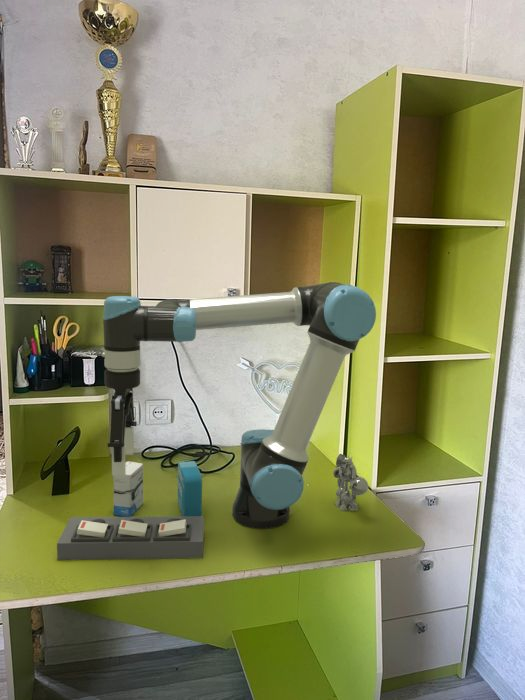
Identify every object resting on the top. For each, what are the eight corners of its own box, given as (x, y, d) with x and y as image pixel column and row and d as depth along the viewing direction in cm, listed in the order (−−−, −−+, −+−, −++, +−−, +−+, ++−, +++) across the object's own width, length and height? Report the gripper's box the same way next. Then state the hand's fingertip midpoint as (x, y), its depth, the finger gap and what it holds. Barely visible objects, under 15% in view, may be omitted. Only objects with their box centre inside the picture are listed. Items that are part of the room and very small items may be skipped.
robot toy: (371, 520, 146) (375, 466, 143) (350, 522, 144) (354, 468, 141) (346, 495, 159) (350, 446, 157) (327, 498, 158) (330, 448, 155)
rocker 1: (107, 528, 128) (108, 523, 127) (103, 537, 124) (104, 532, 123) (80, 524, 127) (81, 519, 127) (76, 533, 123) (77, 528, 123)
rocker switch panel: (203, 531, 137) (203, 513, 136) (202, 557, 125) (203, 538, 124) (71, 532, 134) (70, 514, 133) (57, 560, 122) (56, 540, 121)
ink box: (130, 517, 142) (130, 474, 140) (112, 515, 143) (112, 472, 141) (144, 503, 150) (144, 462, 148) (127, 501, 151) (126, 460, 149)
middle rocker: (146, 528, 128) (147, 523, 128) (144, 537, 125) (145, 532, 124) (120, 524, 128) (121, 519, 127) (117, 533, 124) (118, 528, 124)
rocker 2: (186, 523, 129) (185, 518, 129) (185, 532, 125) (184, 527, 125) (161, 528, 129) (160, 523, 128) (159, 537, 125) (158, 531, 125)
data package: (177, 501, 152) (177, 460, 150) (193, 499, 154) (194, 459, 151) (184, 522, 141) (184, 478, 139) (201, 520, 142) (202, 476, 140)
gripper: (114, 357, 130) (115, 445, 134) (92, 380, 107) (94, 486, 111) (146, 357, 131) (146, 445, 135) (132, 381, 108) (132, 486, 112)
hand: (123, 464), depth 123 cm, fingers open, 11 cm apart
